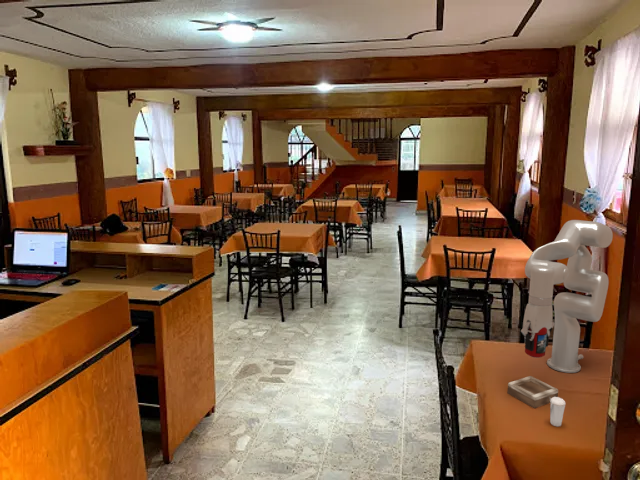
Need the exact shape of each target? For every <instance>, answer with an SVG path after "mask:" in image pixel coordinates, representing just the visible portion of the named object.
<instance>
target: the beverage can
mask: <svg viewBox="0 0 640 480" xmlns="http://www.w3.org/2000/svg"><path fill="white" fill-rule="evenodd" d="M529 330H530V331H532V330H531V329H530V328H529ZM531 334H532V333H530V332H529V335H530V336H531ZM546 339H547V328H546V327H543V328H542V329H540V330H539V332H538V333H535V336H534V338H533V340H534V350H533V351H530V350H528V349H526V348H525V347H524V348H525V349H524V352H525V354H526V355H528V356H529V357H531V358H535V359H538V358H542V357H544V356H545V355H546V349H547V347H546Z"/></svg>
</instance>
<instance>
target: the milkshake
mask: <svg viewBox="0 0 640 480" xmlns="http://www.w3.org/2000/svg"><path fill="white" fill-rule="evenodd" d="M549 398H550V397H549ZM549 408H550V409H549V410H550V413H549V414H550V417H549V419H550V421H549V422H550V424H551V425H552V426H554V427H561V426H562V423H563V417H564V412H565V408H566V401H565V400H564V399H563V398H562V397H560V396H558V397H553V398H551V399H550V403H549Z"/></svg>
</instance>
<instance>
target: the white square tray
mask: <svg viewBox="0 0 640 480" xmlns="http://www.w3.org/2000/svg"><path fill="white" fill-rule="evenodd" d="M507 394H508V395H510V396H511V397H513V398H515V399H516V400H518V401H519V402H522V403H524V404H526V405H527V406H529V407H530V408H532V409H538V408H540V407H542V406H545V405H548V404H550V399H551V398H553V397H559V389H558V388H556V387H554V386H552V385H551V384H548V383H546V382H543V381H542V380H540V379H538V378H535V377H534V376H532V375H529V376H526V377H522V378H519V379H516V380H514V381H510V382H508V384H507ZM549 397H550V398H549Z"/></svg>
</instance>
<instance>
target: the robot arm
mask: <svg viewBox="0 0 640 480" xmlns="http://www.w3.org/2000/svg"><path fill="white" fill-rule="evenodd" d="M613 235H614V234H613V230H612V229H611V227H609V226H608V225H606V224H604V223H602V222H598V221H590V220H589V221H588V220H582V219H581V220H580V219H571V220H568V221H566V222H565V223H564V224H563V226H562V227H561V229H560V231H559V233H558V234H557V235H556V238H555V239H554V241H552V242H548V243H546V244H544V245H542V246H539V247H537V248H536V249H535V250H534V251H533V252H532V253H531V255H530V256H529V258H528V259H527V261H526V263H525V266H524V274H525V276H526V277H527V278H528V279H529V280H530V281H529V293H528V303H527V304H526V306H525V310H524V315H523V320H522V321H523V322H522V329H521V330H520V332H521V334H522V336H523V337H524V339H525V341H524V348H526V349H528V350H530V351H533V350H534V340H533V338H534V336H535V333H538V332H539V330H540V329H542V328H543V327H546V328H547V339H546V348H548V347H549V337H550V336H551V332H552V331H553V337H552V338H553V339H552V347H551V357H549V358H548V359H547V361H546V364H547V366H548V367H549V368H551V369H552V370H554V371H557V372H560V373H561V372H562V373H568V374H569V373H570V374H573V373H578V372H580V371H581V369H582V366H581V365H580V364H579V360H583V359H584V355H583V354H582V353H581V354H579V345H580V337H581V326H580V323H579V321H578V320H582V321H587V322H592V323H593V322H594V323H596V322H598V321H600V320H601V317H602V316H603V312H604V308H605V304H606V299H607V294H608V289H609V283H610V281H609V276H608V275H607V274H606V273H605V272H604V271H600V270H595V269H591V266H592V263H593V257H592V254H591V252H590V251H589V249H588V248H587V246H588V247H593V248H594V247H595V248H603V249H604V248H608V247H609V246H610V245H611V244H612V241H613V237H614V236H613ZM564 259H568V260H567V263H566V264H564V263H561V262H556V261H557V260H564ZM560 284H563V285H564V287H565V288H566V289H568V290H571V291H575V292H581V293H585V294H590V295H591V296H588V295H582V294H578V293H573V292H568V291H566V292H559V293H557V295H555V297H554V299H553V296H554V295H553V294H554V285H560ZM553 300H554V301H553ZM553 308H554V311H553ZM553 314H554V321H553ZM529 328H530V329H531V330H532V331H530V330H529ZM529 332H530V333H532V334H531V336H530V335H529Z"/></svg>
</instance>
